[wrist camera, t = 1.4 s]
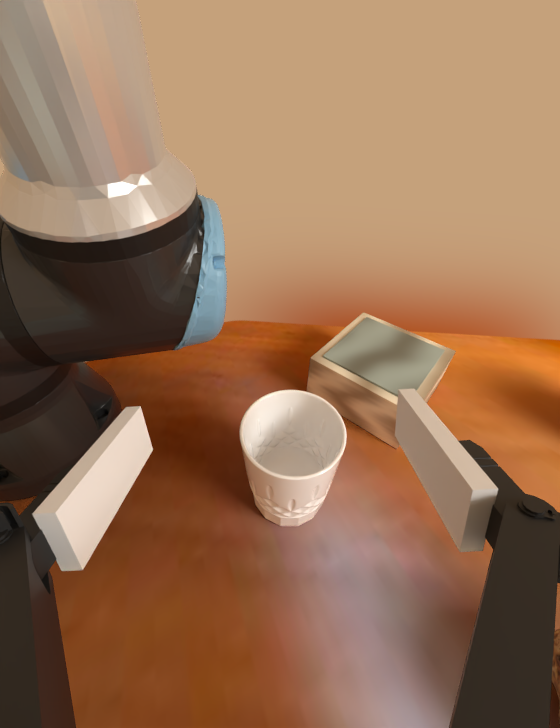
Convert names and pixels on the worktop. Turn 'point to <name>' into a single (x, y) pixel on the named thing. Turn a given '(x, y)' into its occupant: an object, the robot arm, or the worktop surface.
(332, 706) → the worktop surface
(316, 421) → the white cup
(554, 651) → the brown rounded lump
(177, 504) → the worktop surface
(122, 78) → the robot arm
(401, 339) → the stand
